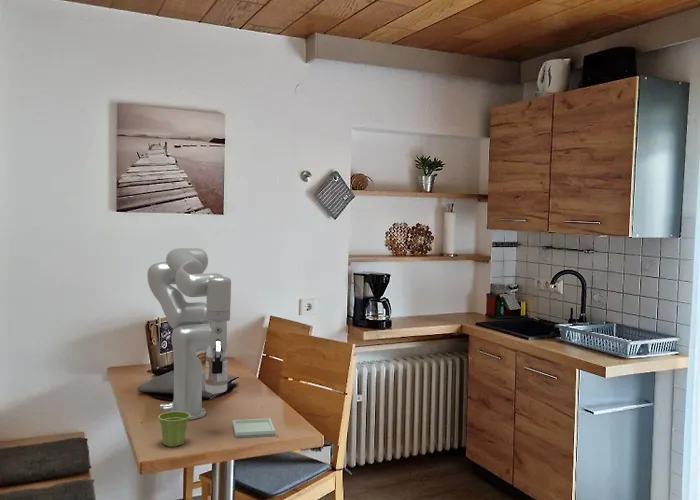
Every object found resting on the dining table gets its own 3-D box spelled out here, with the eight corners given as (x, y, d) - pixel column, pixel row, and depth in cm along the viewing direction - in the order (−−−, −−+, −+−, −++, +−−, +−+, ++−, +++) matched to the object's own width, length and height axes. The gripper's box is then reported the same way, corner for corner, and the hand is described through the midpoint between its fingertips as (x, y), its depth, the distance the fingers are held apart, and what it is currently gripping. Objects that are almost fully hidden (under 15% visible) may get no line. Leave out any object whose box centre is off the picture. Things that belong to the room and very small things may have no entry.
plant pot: (161, 438, 202) (161, 410, 201) (191, 438, 202) (192, 411, 202) (154, 449, 192) (155, 420, 192) (186, 449, 193) (187, 420, 193)
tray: (235, 438, 204) (235, 432, 203) (232, 425, 216) (232, 420, 216) (275, 435, 207) (275, 430, 206) (270, 423, 219) (270, 418, 219)
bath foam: (203, 388, 209) (204, 327, 208) (224, 386, 212) (226, 326, 210) (207, 394, 203) (208, 331, 201) (229, 392, 205) (230, 330, 204)
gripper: (231, 320, 198) (230, 377, 199) (228, 310, 215) (226, 363, 216) (206, 320, 196) (205, 377, 197) (205, 310, 213) (204, 363, 214)
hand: (216, 369), depth 207 cm, fingers closed on bath foam, 7 cm apart
